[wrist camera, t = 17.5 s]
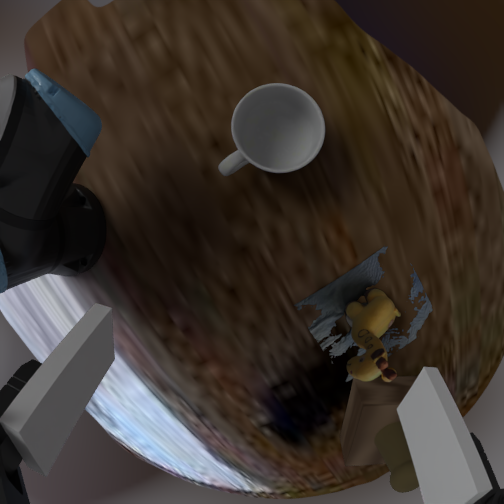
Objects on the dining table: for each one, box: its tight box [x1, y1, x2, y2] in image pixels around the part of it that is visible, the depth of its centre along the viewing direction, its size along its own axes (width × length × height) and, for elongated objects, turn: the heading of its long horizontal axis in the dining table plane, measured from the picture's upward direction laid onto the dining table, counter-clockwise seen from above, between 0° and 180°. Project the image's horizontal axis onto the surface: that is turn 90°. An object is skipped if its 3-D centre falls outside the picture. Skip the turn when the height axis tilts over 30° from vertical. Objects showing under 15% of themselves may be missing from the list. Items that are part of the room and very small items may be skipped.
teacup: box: [219, 83, 325, 176], centre depth 38 cm, size 14×11×8 cm
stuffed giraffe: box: [294, 246, 432, 382], centre depth 38 cm, size 16×18×16 cm
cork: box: [374, 422, 419, 493], centre depth 34 cm, size 6×6×11 cm
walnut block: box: [340, 376, 418, 466], centre depth 44 cm, size 13×13×8 cm
